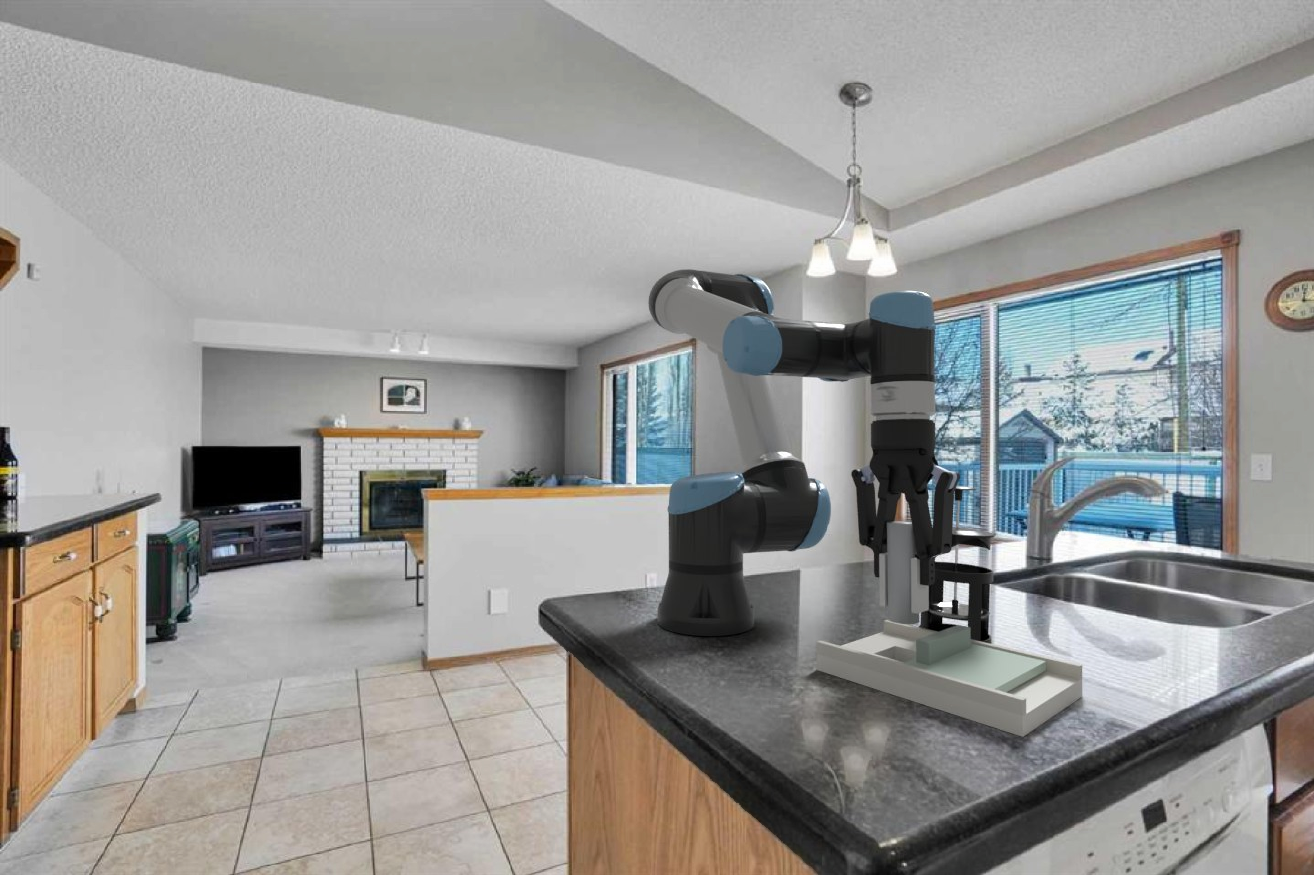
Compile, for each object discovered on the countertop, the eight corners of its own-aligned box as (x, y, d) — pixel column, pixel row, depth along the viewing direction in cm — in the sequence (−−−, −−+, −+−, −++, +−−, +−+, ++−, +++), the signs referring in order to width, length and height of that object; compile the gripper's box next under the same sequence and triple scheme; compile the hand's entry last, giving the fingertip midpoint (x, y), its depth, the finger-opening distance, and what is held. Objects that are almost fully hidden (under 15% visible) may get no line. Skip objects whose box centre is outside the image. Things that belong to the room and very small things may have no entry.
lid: (901, 672, 73) (901, 641, 73) (959, 648, 82) (959, 620, 82) (993, 699, 66) (993, 664, 66) (1046, 670, 74) (1046, 639, 74)
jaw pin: (882, 619, 81) (881, 522, 81) (898, 614, 83) (896, 520, 83) (909, 625, 78) (908, 525, 78) (924, 620, 80) (923, 523, 80)
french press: (1012, 669, 83) (1017, 489, 84) (943, 670, 82) (949, 487, 82) (957, 642, 95) (962, 484, 95) (897, 642, 94) (902, 482, 94)
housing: (816, 669, 81) (816, 641, 81) (886, 644, 91) (886, 619, 91) (1023, 736, 62) (1022, 700, 62) (1082, 696, 73) (1082, 664, 73)
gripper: (828, 420, 85) (829, 600, 85) (953, 414, 72) (955, 627, 72) (861, 421, 90) (862, 592, 89) (984, 416, 77) (986, 616, 77)
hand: (903, 607), depth 81 cm, fingers closed on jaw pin, 3 cm apart
